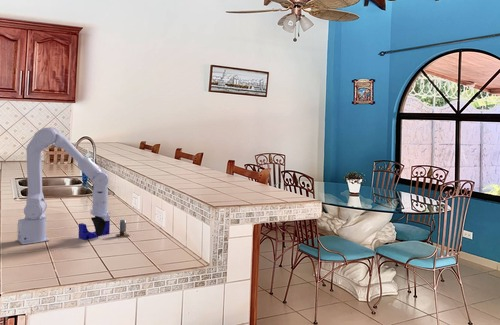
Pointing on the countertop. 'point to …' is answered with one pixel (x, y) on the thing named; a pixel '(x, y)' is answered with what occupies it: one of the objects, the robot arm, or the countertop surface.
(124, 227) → the post
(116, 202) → the countertop surface
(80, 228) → the cable clip
